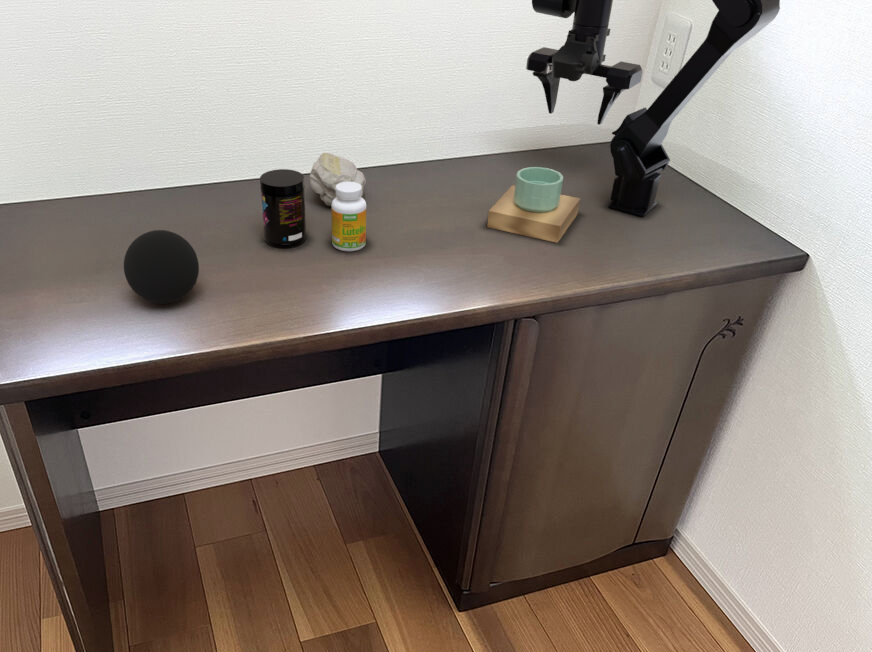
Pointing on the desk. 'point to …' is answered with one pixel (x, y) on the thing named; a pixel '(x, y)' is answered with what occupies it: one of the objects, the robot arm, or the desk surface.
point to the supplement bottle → (348, 217)
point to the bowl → (538, 189)
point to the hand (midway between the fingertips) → (574, 118)
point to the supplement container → (283, 207)
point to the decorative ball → (161, 266)
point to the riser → (533, 218)
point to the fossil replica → (333, 175)
